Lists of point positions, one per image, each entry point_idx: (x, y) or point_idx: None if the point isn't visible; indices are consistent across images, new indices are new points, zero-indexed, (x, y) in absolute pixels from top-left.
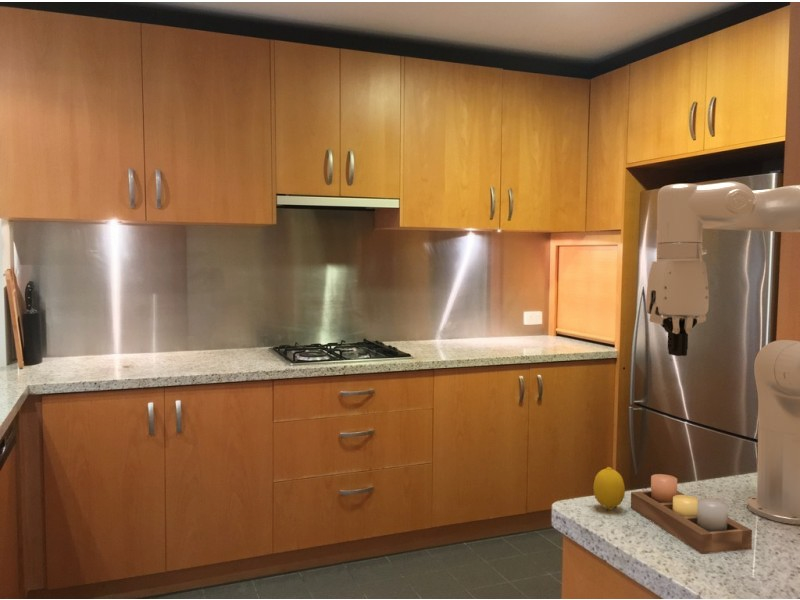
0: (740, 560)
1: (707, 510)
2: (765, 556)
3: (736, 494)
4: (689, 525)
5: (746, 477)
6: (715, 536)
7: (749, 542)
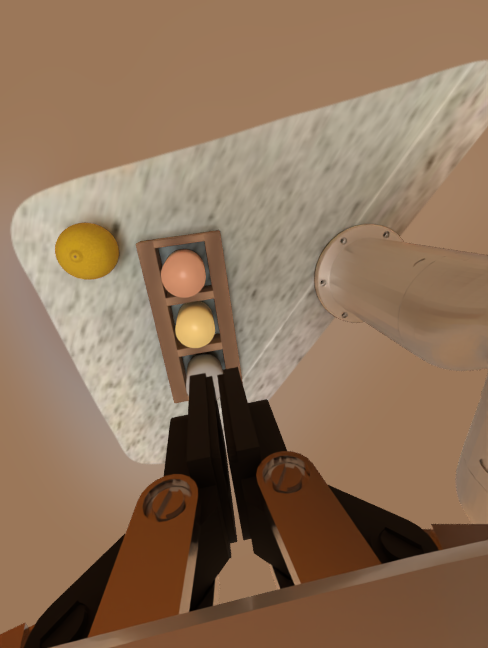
0: None
1: None
2: None
3: (345, 189)
4: (172, 377)
5: (428, 91)
6: None
7: None
